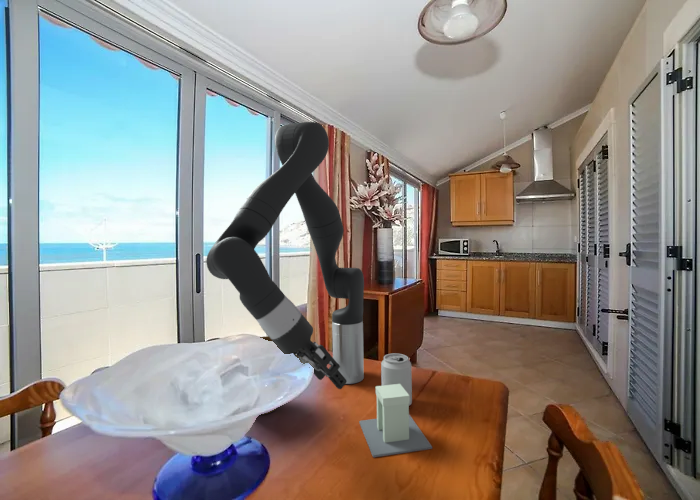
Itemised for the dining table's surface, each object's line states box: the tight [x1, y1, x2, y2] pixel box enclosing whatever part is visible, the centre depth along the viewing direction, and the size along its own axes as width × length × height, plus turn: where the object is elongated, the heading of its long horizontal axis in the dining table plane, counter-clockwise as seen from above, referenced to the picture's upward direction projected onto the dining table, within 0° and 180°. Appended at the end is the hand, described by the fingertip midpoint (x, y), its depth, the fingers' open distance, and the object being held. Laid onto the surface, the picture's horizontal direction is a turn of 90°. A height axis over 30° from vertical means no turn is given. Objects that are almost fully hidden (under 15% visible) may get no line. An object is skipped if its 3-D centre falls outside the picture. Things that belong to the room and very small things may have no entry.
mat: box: [359, 414, 433, 458], centre depth 67 cm, size 12×12×1 cm
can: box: [380, 352, 413, 406], centre depth 80 cm, size 8×8×12 cm
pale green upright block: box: [375, 384, 410, 443], centre depth 67 cm, size 6×6×9 cm
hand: (332, 380), depth 66 cm, fingers open, 8 cm apart
